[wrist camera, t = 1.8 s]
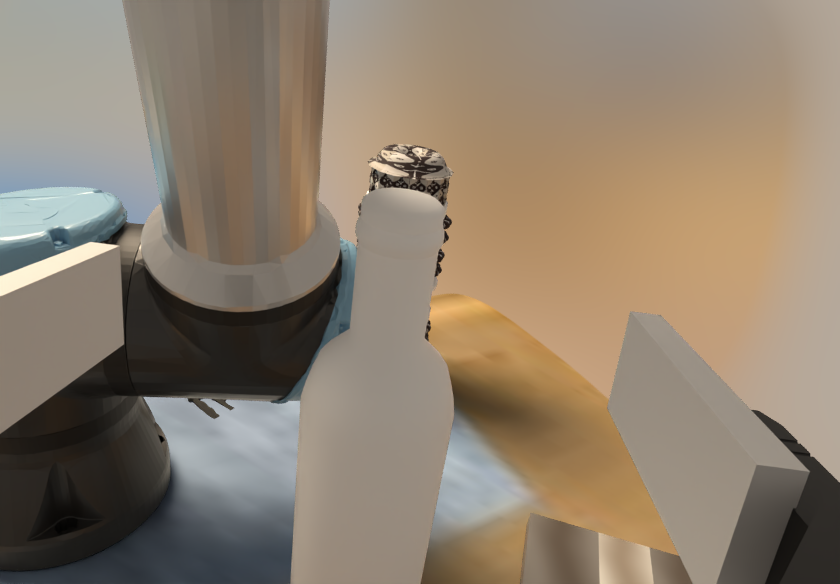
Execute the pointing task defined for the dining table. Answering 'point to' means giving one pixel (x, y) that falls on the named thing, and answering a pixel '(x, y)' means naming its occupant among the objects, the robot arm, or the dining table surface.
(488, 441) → the dining table surface
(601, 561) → the subfloor panel
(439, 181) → the decorative candle
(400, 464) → the bottle
